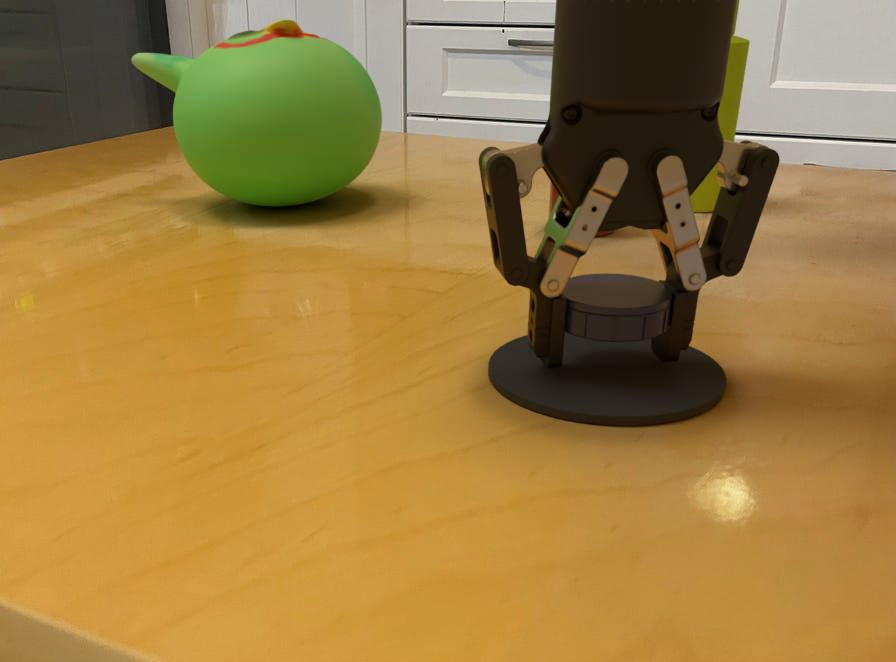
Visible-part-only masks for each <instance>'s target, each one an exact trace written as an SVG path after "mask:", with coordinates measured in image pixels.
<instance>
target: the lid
mask: <svg viewBox="0 0 896 662" xmlns="http://www.w3.org/2000/svg"><path fill="white" fill-rule="evenodd" d="M562 293H563V294H564V295H565V296H566V297H567V310H566V323H565V332H567V333H569V334H572V335H574V336H577V337H582V338H586V339H590V340H595V341H607V342H631V341H641V340H646V339H650V338H654V337H657V336H659V335H661V334H662V333H665V331H666V330H667V328H668V325H669V317H670V309H671V301H672V291H671V290H670V289H668V288H667V287H666V286H665V285H663V284H662V283H660V282H659V280H658V281H657V280H655V279H652V278H648V277H644V276H639V275H633V274H625V273H605V272H603V273H589V274H587V273H586V274H581V275H576V276H571V277H570V279H569V281H568V283H567V285H566V287H565V289H564V291H563V292H562Z"/></svg>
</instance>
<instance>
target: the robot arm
mask: <svg viewBox="0 0 896 662" xmlns="http://www.w3.org/2000/svg"><path fill="white" fill-rule="evenodd" d="M736 3H737V0H555V11H554V12H555V14H554V30H553V43H552V61H551V76H550V77H551V78H550V91H549V112H548V116H547V120H546V123H545V125H544V127H543V129H542V131H541V133H540V134H539V136H538V139H537V141H536V142H535V143H531V144H525V145H522V146H518V147H514V148H511V149H510V148H509V149H505V150H502V149H500V148H498V147H496V146H488V147H485V148H484V149H483V150H482V151H480V153H479V156H478V168H479V175H480V181H481V188H482V195H483V201H484V207H485V214H486V221H487V226H488V234H489V240H490V247H491V254H492V259H493V265H494V267H495V268H496V269H497V271H498V273H499V274H500V275H501V276H502V278H503V279H504V280H505V281H506V283H507V284H508V285H510V286H513V287H523V288H526V289H529V302H528V317H527V319H528V321H527V334H526V335H527V339H528V342H529V345H530V348H531V349H532V351H533V352H534V353H535V355H536V356H537V358H540V360H541V361H542V363H543V364H544V366H545V367H546V368H560V367H561V366H562V361H563V348H564V335H565V323H566V310H567V297H566V296H565V295H564V294H563V293H562V292H563V291H564V289H565V287H566V285H567V283H568V281H569V279H570V278H571V277H572V275H573V273H574V271H575V269H576V266H577V265H578V263H579V260H580V259H581V258H582V257H583V256H585V255H586V254H587V252H588V251H589V249H590V247H591V245H592V243H593V241H594V239H595V235H596V233H597V232H598V231H612V232H613V231H617V230H621V229H623V228H627V227H633V228H636V229H641V230H646V231H647V230H650V233H651V235H652V236H653V238H654V240H655V242H656V244H657V249H658V251H659V256H660V258H661V262H662V265H663V269H664V272H665V279H663V280H658V282H660V283H662V284H663V285H665V286H666V287H667V288H668V289H670V290H671V291H672V301H671V309H670V317H669V325H668V328H667V330H666V331H665V333H662V334H661V335H659V336H657V337H654V338H652V339H651V348H652V351H653V353H654V354H655V355H656V356H657V357H658V358H659V359H660V360H661V361H662V362H676V361H678V359H679V357H680V350H687V348H688V346H690V344H691V342H692V341H693V333H694V326H695V320H696V313H697V307H698V300H699V294H700V291H701V289H702V287H704V285H706V284H707V283H708V282H711V281H712V280H714V279H717V278H720V277H722V276H724V277H726V278H732V277H735V276H737V275H738V274H740V272H741V271H742V270H743V268H744V265H745V262H746V259H747V256H748V253H749V251H750V248H751V245H752V242H753V239H754V237H755V234H756V230H757V227H758V225H759V222H760V220H761V216H762V214H763V211H764V208H765V205H766V202H767V199H768V196H769V194H770V190H771V188H772V185H773V182H774V179H775V176H776V174H777V172H778V168H779V166H780V161H781V160H780V159H781V158H780V155H779V153H778V151H776V150H775V149H773V148H770V147H769V146H767V145H765V144H761V143H759V142H756V141H751V140H742V141H740V142H738V141H737V142H736V141H734V142H732V141H727V140H723V136H722V133H721V131H720V128H719V123H718V110H719V106H720V103H721V100H722V97H723V92H724V85H725V78H726V71H727V64H728V57H729V50H730V43H731V36H732V30H733V23H734V16H735V10H736ZM716 164H717V182H718V184H719V185H720V186H721V189H720V192H719V195H718V198H717V201H716V204H715V207H714V210H713V211H712V212H711V216H710V220H709V223H708V224H707V225H708V226H707V228H706V232H705V234H704V238H703V241H702V244H701V246H700V243H699V242H700V241H701V236H700V231H699V227H698V223H697V219H696V215H695V212H693V208H692V204H691V200H690V197H691V195H692V194H693V193H694V192H695V190H696V189H697V188H698V186H699V185H700V184H701V183H702V181H703V180H704V179H705V178H706V176H707V175H708V174H709V173H710V171H711V170H712V169H713V168H714V166H715V165H716ZM540 169H542V170H543V172H544V173H545V174H546V176H547V178H548V179H549V181H550V183H551V182H552V184H553V185H554V187H555V189H556V190H557V192H558V193H559V197H558V199H557V201H556V203H555V206H554V208H553V210H552V212H551V214H550V216H549V219H548V218H547V221H546V222H545V226H544V235H543V237H542V240H541V242H540V244H539V246H538V249H536V251H535V254H534V256H530V255H528V250H527V242H526V235H525V227H524V219H523V212H522V205H521V199H524V198H526V197H527V196H528V195H529V194H530V193H531V191H532V188H533V179H534V176H535V174H536V173H537V172H538V171H539V170H540ZM566 211H567V213H565V212H566ZM583 226H584V227H583Z"/></svg>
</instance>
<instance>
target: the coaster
mask: <svg viewBox="0 0 896 662" xmlns="http://www.w3.org/2000/svg"><path fill="white" fill-rule="evenodd" d="M651 339H652V338H650V339H646V340H641V341H631V342H607V341H595V340H590V339H586V338H582V337H577V336H574V335H572V334H569V333H567V332H565V335H564V348H563V361H562V366H561V367H560V368H546V367H545V366H544V364H543V363H542V361H541V360H540V358H537V356H536V355H535V353H534V352H533V351H532V349H531V348H530V345H529V342H528V339H527V334H525V335H523V336H519V337H516V338H513V339H511V340H510V341H507V342H505V343H504V344H502V345H501V346H499V347H497V349H496V350H494V351H493V353H492V354H491V356H490V357H489V360H488V363H487V365H488V367H487V375H488V379H489V381H490V383H491V384H492V387H494V389H495V390H496V391H497V392H499V393H500V394H501V395H502V396H503V397H505V398H506V399H508V400H509V401H510V402H513V403H515V404H516V405H518V406H521V407H523V408H526V409H529V410H531V411H533V412H536V413H540V414H541V415H545V416H550V417H554V418H557V419H561V420H566V421H572V422H578V423H584V424H593V425H605V426H628V427H629V426H649V425H659V424H665V423H673V422H678V421H681V420H686V419H689V418H692V417H695V416H698V415H700V414H702V413H705V412H707V411H710V410H711V408H713V407H715V406H716V405H717V404H718V403H719V402H720V401H721V400H722V399H723V397H724V394H725V392H726V387H727V376H726V375H727V374H726V372H725V371H724V369H723V367H722V366H721V365H720V364H719V363H718V362H717V361H716V360H715V359H713V357H711V356H710V355H708V354H707V353H705V352H703V351H702V350H699V349H698V348H695V347H693V346H691V345H689V346H688V348H687V350H680V357H679V359H678V361H676V362H662V361H661V360H660V359H659V358H658V357H657V356H656V355H655V354H654V353H653V351H652V348H651Z"/></svg>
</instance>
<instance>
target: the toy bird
mask: <svg viewBox="0 0 896 662" xmlns="http://www.w3.org/2000/svg"><path fill="white" fill-rule="evenodd" d="M131 63H132V65H133V66H134V67H135V68H136V69H138V70H139V71H140V72H142V73H143V74H144V75H146V76H148V78H151V79H152V80H154V81H156V82H157V83H159V84H161V85H162V86H163V87H165V88H167V89H169V90H170V91H172V92H174V93H175V97H174V99H173V105H172V106H173V107H172V124H173V125H172V126H173V131H174V135H175V140H176V142H177V145H178V148H179V150H180V152H181V154H182V156H183V158H184V160H185V162H186V163H187V164H188V166H189V167H190V169H191V170H192V171H193V173H194V174H196V176H197V177H198V178H199V179H200V180H201V181H203V183H204V184H206V185H207V186H209V188H211V189H212V190H214V191H216V192H217V193H219V194H221V195H223V196H225V197H227V198H229V199H232V200H234V201H236V202H241V203H244V204H249V205H254V206H261V207H290V206H297V205H303V204H304V205H305V204H309V203H312V202H315V201H319V200H322V199H324V198H327V197H330V196H331V195H334V194H336V193H337V192H339V191H340V190H343V189H344V188H345V187H348V185H350V184H351V183H353V181H355V180H356V179H357V178H358V177H359V176H360V175H361V174H363V172H364V171H365V169H366V168H367V167H368V165H369V164H370V162H371V161H372V159H373V157H374V156H375V153H376V151H377V149H378V145H379V143H380V142H379V141H380V138H381V135H382V134H381V133H382V126H383V125H382V124H383V113H382V105H381V101H380V97H379V93H378V90H377V88H376V86H375V84H374V81H373V79H372V77H371V76H370V74H369V72H368V71H367V69H366V68H365V67H364V65H363V64H362V63H361V62H360V61H359V60H358V59H357V58H356V56H354V55H353V54H352V53H351V52H350V51H349V50H347V49H346V48H344V47H342V46H341V45H339V44H338V43H336V42H334V41H332V40H330V39H328V38H325V37H320V36H319V35H318V34H315V33H310V32H307V31H306V32H305V31H303V29H302V28H301V27H300V25H299V24H298V23H297V22H296V21H295V20H293V19H287V18H285V19H284V18H283V19H278V20H276V21H274V22H272V23H270V24H268V25H267V26H265V27H264V28H262V29H259V30H250V29H249V30H245V31H244V30H243V31H241V32H237V33H234V34H232V35H231V36H229V37H228V38H226V39H224V40H221V41H220V42H218V43H216V44H214V45H212V46H211V47H209V48H208V49H206V50H205V51H204V52H202V53H201V54H200V55H199V56H198V57H189V56H181V55H174V54H166V53H157V52H138V53H135V54H133V55H132V57H131Z"/></svg>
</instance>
